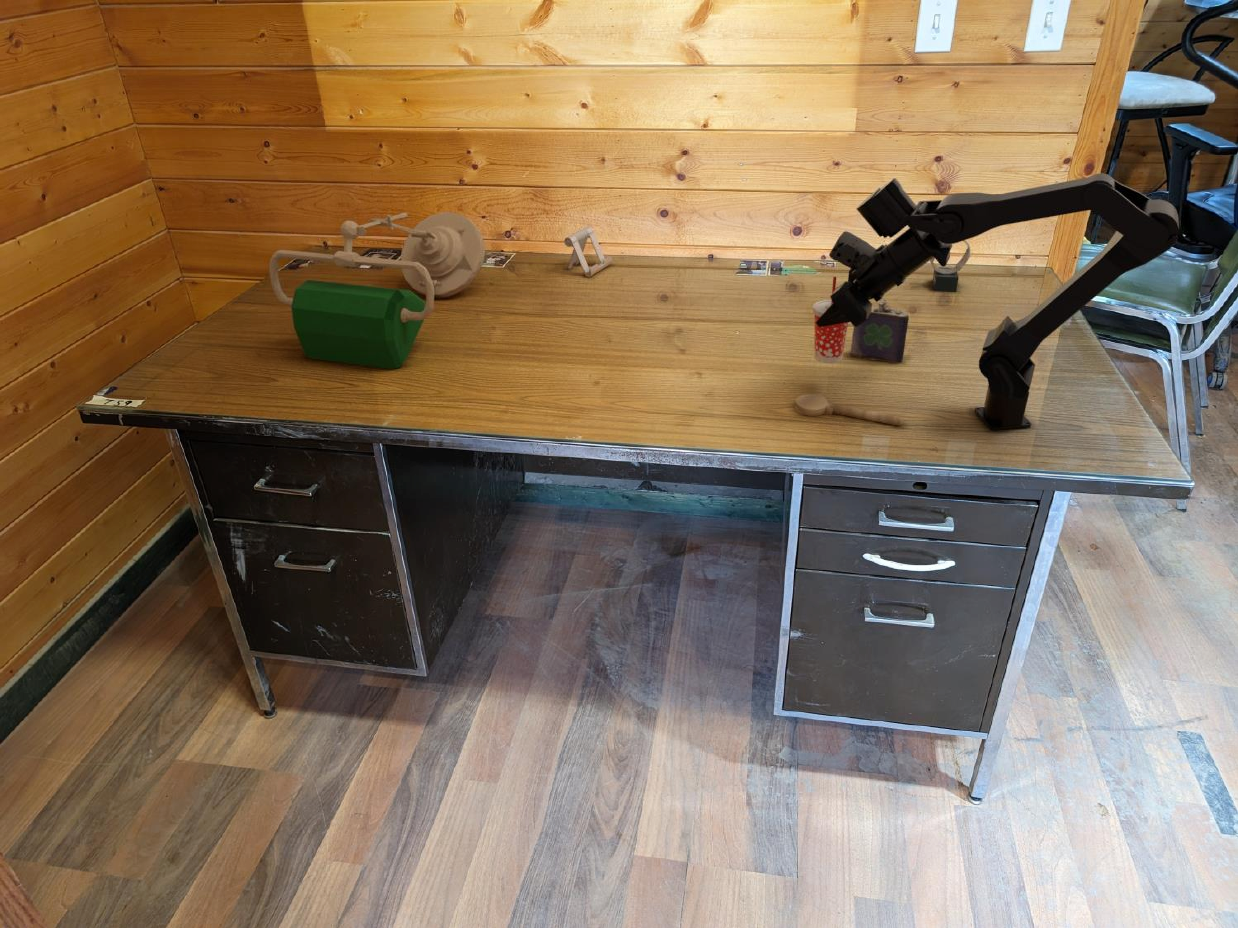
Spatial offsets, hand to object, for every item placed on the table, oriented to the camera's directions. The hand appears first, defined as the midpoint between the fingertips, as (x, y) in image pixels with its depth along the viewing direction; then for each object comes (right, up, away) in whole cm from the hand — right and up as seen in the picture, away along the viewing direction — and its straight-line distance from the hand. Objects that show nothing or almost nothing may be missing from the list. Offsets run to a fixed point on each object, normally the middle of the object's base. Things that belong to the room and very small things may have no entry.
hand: (823, 317), depth 146 cm
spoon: (+3, -16, -2) cm, 16 cm away
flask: (+13, -5, +15) cm, 20 cm away
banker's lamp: (-76, +6, +38) cm, 86 cm away
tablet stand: (-41, +20, +58) cm, 73 cm away
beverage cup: (+2, -6, +3) cm, 7 cm away
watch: (+35, +13, +41) cm, 55 cm away
